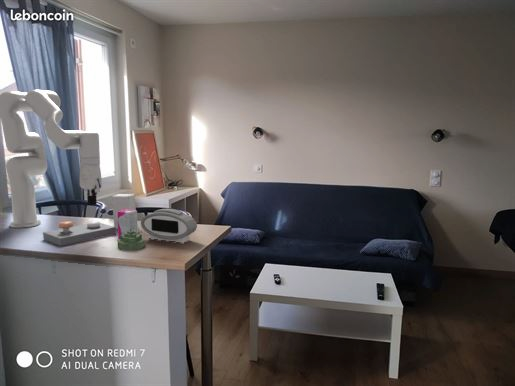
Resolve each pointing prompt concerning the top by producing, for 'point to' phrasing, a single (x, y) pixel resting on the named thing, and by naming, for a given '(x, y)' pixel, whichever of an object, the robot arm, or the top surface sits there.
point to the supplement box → (127, 221)
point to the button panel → (78, 234)
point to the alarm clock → (169, 225)
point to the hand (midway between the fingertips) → (92, 204)
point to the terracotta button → (66, 226)
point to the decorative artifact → (131, 241)
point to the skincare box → (122, 205)
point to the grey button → (93, 224)
